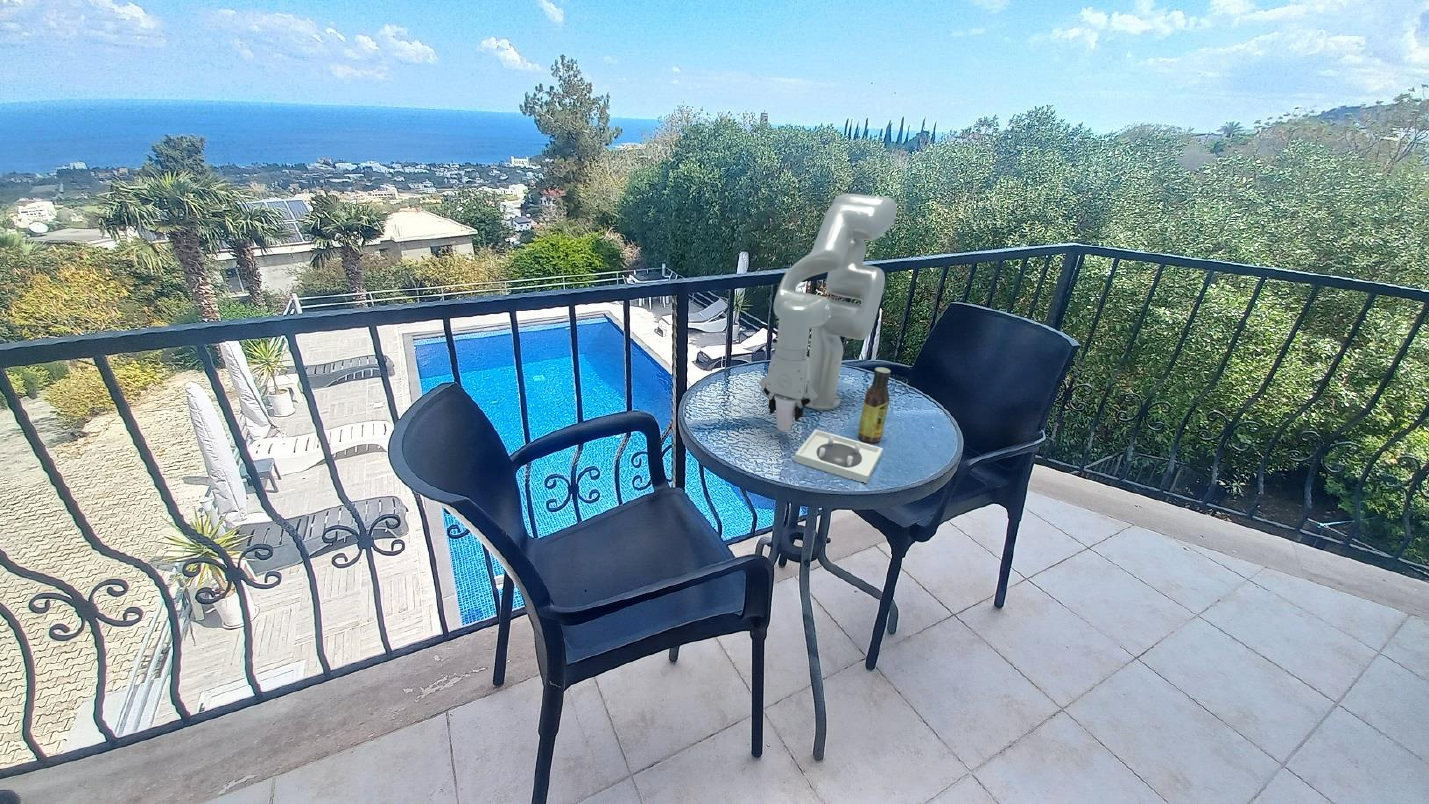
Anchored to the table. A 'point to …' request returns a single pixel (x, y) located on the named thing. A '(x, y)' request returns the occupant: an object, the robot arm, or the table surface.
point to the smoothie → (785, 412)
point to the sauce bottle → (875, 407)
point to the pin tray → (839, 455)
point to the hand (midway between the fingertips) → (785, 414)
